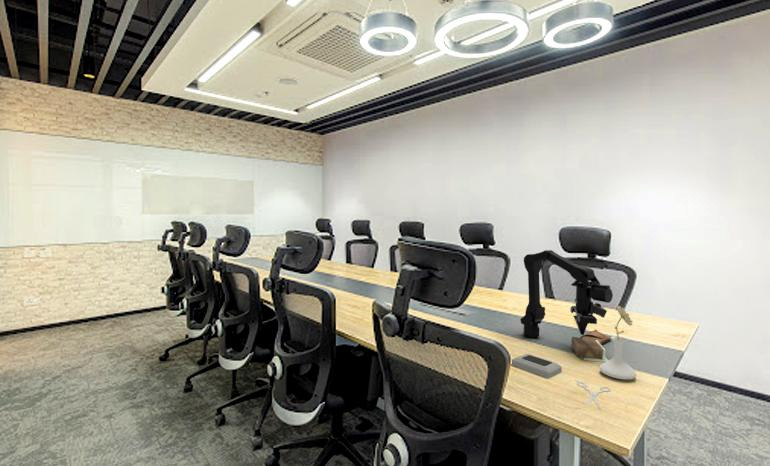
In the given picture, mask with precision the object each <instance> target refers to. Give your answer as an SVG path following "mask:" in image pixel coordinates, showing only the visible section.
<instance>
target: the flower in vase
mask: <svg viewBox="0 0 770 466" xmlns="http://www.w3.org/2000/svg"><path fill="white" fill-rule="evenodd" d="M616 310H617V312H618V314H619V316H620V318H619V319H618V321H617V323H616V325H614V329H615V330H616V335H612V336H610V338H611V340H612V342H613V346H614V355H613V357H612V358H610V359H608V361H606V362H602V363H601V364H600V365H599V368H598V369H599V370H600V371H601V373H603V374H604V375H606V376H608V377H611V378H613V379H614V378H615V379H617V380H633V379H635V378H636V377H637V372H636V371H635V369H634V368H632V366H631V365H629V364H628V363H627V362H626V361H625V360H624V359H623V348H624V344H625V343H626V342H627V341H628V339H627V338H625V337H623V336H619V335H620V334H622V333H625V331H624V330H622V331H619V330H618V325H619V323H620V321H621V320H623V321H624V322H625V323H626V324H627V325H628V326H629V327H630V326H631V327H632V326H634V324H633V320H632V319H631V317H630V315H629V313H627V311H626V310H625V308H624V307H621V306H620V305H619V306H616Z"/></svg>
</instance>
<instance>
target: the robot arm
mask: <svg viewBox="0 0 770 466" xmlns="http://www.w3.org/2000/svg"><path fill="white" fill-rule="evenodd" d="M547 261H549V262H550V263H552V264H554V265H555V266H557V267H559V268H560V269H562V270H564V271H566V272H567V273H568V274H569V275H570V276H571V277H572V278H573V280H574V282H572V283H571V284H570V285H571V286H572V287H573V286H574V287H575V288H576V289H575V298H574V302H575V305H572V306H571V307H570V311H569V312H570V313H571V314H574V313H575V315H572V316H573V319H574V321H575V323H576V326H577V328H578V332H579V333H580V335H581V336H583V335H585V333H586V330H587V327H588V325H589V324H592V325H597V324H598V319H597V318H596V317H595V316H594V315H597V316H599V317H600V318H605V317H606V315H607V312H608V311H607V310H606V309H605V308H604V307H602V305H601V303H598V302H602V303H603V302H604V303H606V304H609V303H611V302H612V300H613V294H614V293H613V290H612V289H611V285H608V284H601V282H600V281H599V280H598V278H597V276H596V275H595V271H594V269H593V268H591V267H587V266H585V265H580V264H577V263H574V262H573V261H571V260H570V259H567V258H565V257H564V256H562V255H560V254H558V253H557V252H555V251H553V250H551V249H549V250H548V249H545V250H543V251H541V252H537V253H530V254H525V256H524V257H523V265H524V268H525V270H526V272H527V274H528V275H527V277H528V279H527V281H528V304H527V306H526V308H525V314H524V315H523V316H522V317H521V318H520V320H519V321H520V324H522V325H523V332H522V335H523V338H528V339H536V340H537V339H539V337H540V327H539V324H540V325H541V323H542V321H543V320H544V319H545V316H546V306H542V304H541V295H540V294H541V293H540V292H541V290H540V287H541V286H540V271H541V270H542V268H543V263H544V262H547ZM592 300H593V301H598V302H595V303H594V302H593V301H592Z"/></svg>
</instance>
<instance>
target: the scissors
mask: <svg viewBox="0 0 770 466" xmlns="http://www.w3.org/2000/svg"><path fill="white" fill-rule="evenodd" d="M575 381H576V385H577V386H579V387H580V386H581V387H580V388H583V389H584V390H585V391H587V392H588V393H589V395H590V396H589V398H588V400H587V402H586V404H585V407H587V406H589V405H590V404H591V402H593V401H594V402H595V404H596V406H597V407H598V409H600V410H601V406H600V404H599V403H600V402H599V401H598V399H597V398H598V397H597V396H598V395H599V394H602V393H609V392H611V391H612V389H611V388H610V387H607V386H600V387H599V390H600V391H596V392H595V391H591V390H589V389H588V388H587V387H589V386H588V384H587V383H586V382H582V381H579V380H578V379H575ZM581 384H583V385H581ZM584 384H585V385H584ZM605 389H608V390H605Z"/></svg>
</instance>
